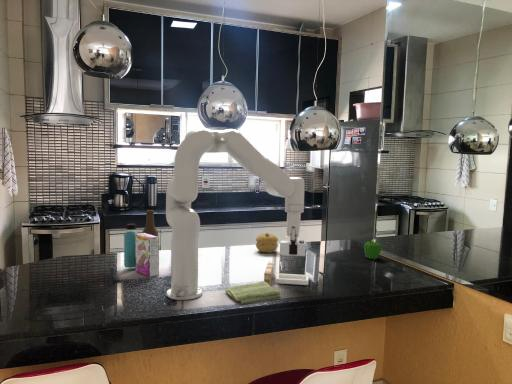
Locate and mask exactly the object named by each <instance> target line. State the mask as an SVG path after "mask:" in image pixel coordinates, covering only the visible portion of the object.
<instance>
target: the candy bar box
mask: <svg viewBox="0 0 512 384" xmlns="http://www.w3.org/2000/svg"><path fill="white" fill-rule="evenodd" d="M135 251H136V267H135V272H136V273H137V274H138V273H139V274H140V275H143V276H147V277H148V278H153V277H156V276H159V275H160V236H158V237H157V236H153V235H150V234H147V233H142V232H141V233H139V234H135Z"/></svg>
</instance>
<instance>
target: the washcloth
mask: <svg viewBox="0 0 512 384" xmlns="http://www.w3.org/2000/svg"><path fill="white" fill-rule="evenodd" d="M224 291H225V292H226V293H227V294H228V295H229V296H230V297H231V298H232V299H234V300H235V301H236V302H239V303H241V304H247V303H254V302H258V301H259V302H260V301H265V300H270V299H275V298H276V299H277V298H279V297H280V296H281V293H282V292H281V291H280V290H279V289H276V288H275V287H273V286H271V285H269V284H268V283H267V282H264V280H263V281H260V282H255V283H254V282H253V283H248V284H247V283H246V284H241V285H236V286H235V285H234V286H230V287H228V288H226V289H225V290H224Z"/></svg>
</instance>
